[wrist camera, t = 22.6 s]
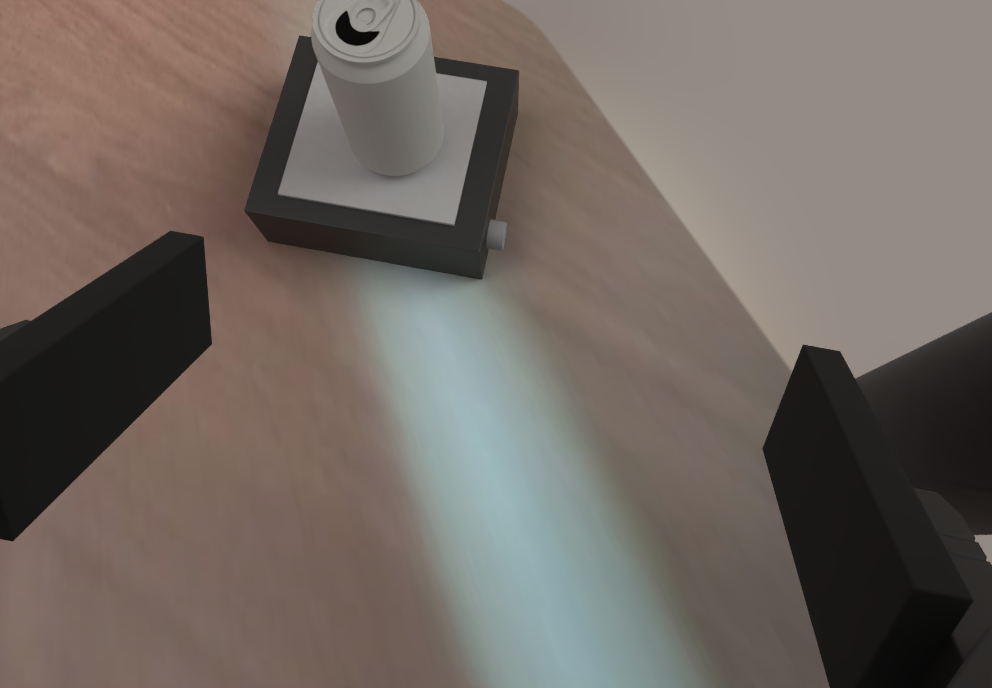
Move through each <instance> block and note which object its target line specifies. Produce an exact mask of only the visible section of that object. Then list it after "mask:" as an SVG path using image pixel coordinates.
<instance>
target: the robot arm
mask: <svg viewBox="0 0 992 688" xmlns="http://www.w3.org/2000/svg"><path fill="white" fill-rule="evenodd" d="M211 344H212V339H211V326H210V313H209V300H208V288H207V275H206V262H205V249H204V237H202V236H196V235H191V234H185V233H180V232H174V231H170V232H168V233H166V234H165V235H163V236H162V237H160V238H159V239H157V240H156V241H154V242H153V243H151V244H149V245H148V246H146V247H145V248H143V249H142V250H140V251H139V252H137V253H136V254H134V255H132V256H131V257H129V258H128V259H126V260H125V261H123V262H122V263H120V264H119V265H117V266H115V267H114V268H112V269H111V270H109V271H108V272H106V273H105V274H103V275H102V276H100V277H98V278H97V279H95V280H94V281H92V282H91V283H89V284H88V285H86V286H85V287H83V288H81V289H80V290H78V291H77V292H75V293H74V294H72V295H71V296H69V297H68V298H66V299H64V300H63V301H61V302H60V303H58V304H57V305H55V306H54V307H52V308H51V309H49V310H47V311H46V312H44V313H43V314H41V315H40V316H38V317H37V318H35V319H34V320H32V321H29V320H24V321H21V322H18V323H16V324H13V325H10V326H7V327H4V328H1V329H0V539H4V540H8V541H14V540H15V539H16V538H17V537H18V536H19V535H20V534H21V533H22V532H23V531H24V530H25V529H26V528H27V527H28V526H29V525H30V524H31V523H32V522H33V521H34V520H35V519H36V518H37V517H38V516H39V515H40V514H41V513H42V512H43V511H44V510H45V509H46V508H47V507H48V506H49V505H50V504H51V503H52V502H53V501H54V500H55V499H56V498H57V497H58V496H59V495H60V494H61V493H62V492H63V491H64V490H65V489H66V488H67V487H68V486H69V485H70V484H71V483H72V482H73V481H74V480H75V479H76V478H77V477H78V476H79V475H80V474H81V473H82V472H83V471H84V470H85V469H86V468H87V467H88V466H89V465H90V464H91V463H92V462H93V461H94V460H95V459H96V458H97V457H98V456H99V455H100V454H101V453H102V452H103V451H104V450H106V449H107V448H108V447H109V446H110V445H111V444H112V443H113V442H114V441H115V440H116V439H117V438H118V437H119V436H120V435H121V434H122V433H123V432H124V431H125V430H126V429H127V428H128V427H129V426H130V425H131V424H132V423H133V422H134V421H135V420H136V419H137V418H138V417H139V416H140V415H141V414H142V413H143V412H144V411H145V410H146V409H147V408H148V407H149V406H150V405H151V404H152V403H153V402H154V401H155V400H156V399H157V398H158V397H159V396H160V395H161V394H162V393H163V392H164V391H165V390H166V389H167V388H168V387H169V386H170V385H171V384H172V383H173V382H174V381H175V380H176V379H177V378H178V377H179V376H180V375H181V374H182V373H183V372H184V371H185V370H186V369H187V368H188V367H189V366H190V365H191V364H192V363H193V362H194V361H195V360H196V359H197V358H198V357H199V356H200V355H201V354H202V353H203V352H204V351H205V350H206V349H207V348H208V347H209V346H210V345H211ZM763 452H764V456H765V459H766V463H767V466H768V470H769V473H770V477H771V480H772V484H773V487H774V491H775V495H776V498H777V502H778V505H779V509H780V512H781V516H782V519H783V523H784V526H785V530H786V534H787V537H788V541H789V544H790V548H791V551H792V555H793V558H794V562H795V565H796V569H797V573H798V576H799V580H800V583H801V587H802V590H803V594H804V597H805V601H806V604H807V608H808V612H809V615H810V619H811V622H812V626H813V629H814V633H815V636H816V640H817V643H818V647H819V651H820V654H821V658H822V661H823V665H824V668H825V672H826V675H827V679H828V682H829V686H830V688H992V565H991V564H990V562H987V561H986V555H985V554H984V552H983V550H982V548H981V547H980V545H979V543H977V542H975V537H974V535H973V533H972V532H971V530H970V528H969V527H968V525H967V523H966V522H965V520H964V518H963V517H962V515H961V514H960V513H959V512H958V511H957V510H956V509H955V508H954V507H953V506H952V505H951V504H949V503H948V502H947V501H946V500H945V499H944V498H943V497H942V496H941V495H940V494H939V493H938V492H935V491H929V490H924V489H919V488H914V487H913V486H912V484H911V482H910V481H909V479H908V477H907V475H906V473H905V471H904V469H903V468H902V466H901V464H900V462H899V460H898V458H897V456H896V455H895V453H894V451H893V449H892V447H891V445H890V443H889V441H888V440H887V438H886V436H885V434H884V432H883V430H882V428H881V427H880V425H879V423H878V421H877V419H876V417H875V415H874V414H873V412H872V410H871V408H870V406H869V404H868V402H867V401H866V399H865V397H864V395H863V393H862V391H861V389H860V388H859V386H858V384H857V382H856V380H855V378H854V377H853V374H852V373H851V371H850V369H849V367H848V365H847V363H846V361H845V360H844V358H843V356H842V354H841V352H840V351H835V350H830V349H824V348H818V347H813V346H808V345H803V346H802V349H801V351H800V354H799V356H798V359H797V361H796V364H795V366H794V369H793V372H792V374H791V377H790V379H789V382H788V384H787V387H786V390H785V392H784V395H783V397H782V400H781V402H780V405H779V408H778V410H777V413H776V415H775V418H774V420H773V423H772V426H771V428H770V431H769V433H768V436H767V438H766V441H765V444H764V446H763Z"/></svg>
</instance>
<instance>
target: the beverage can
mask: <svg viewBox="0 0 992 688" xmlns="http://www.w3.org/2000/svg"><path fill="white" fill-rule="evenodd" d="M312 22H313V26H312V33H311V40H312V46H313V49H314V52H315V55H316V57H317V60H318V63H319V65H320V68H321V70H322V73H323V76H324V78H325V81H326V84H327V86H328V89H329V92H330V94H331V97H332V99H333V102H334V105H335V107H336V110H337V113H338V115H339V118H340V120H341V123H342V126H343V128H344V131H345V134H346V136H347V139H348V142H349V144H350V147H351V149H352V151H353V154H354V155H355V157H356V158H357V159H358V161H359V162H360V163H361V164H362V165H364V166H365V167H366V168H368V169H370V170H371V171H373V172H376V173H378V174H382V175H387V176H402V175H407V174H411V173H414V172H416V171H418V170H420V169H422V168H424V167H425V166H426V165H428V164H429V163H430V162H431V161H432V160H433V159H434V158H435V156H436V155H437V153H438V152H439V150H440V148H441V145H442V142H443V138H444V125H443V118H442V111H441V104H440V97H439V90H438V83H437V76H436V69H435V62H434V55H433V48H432V40H431V33H430V26H429V21H428V18H427V15H426V13H425V11H424V9H423V7H422V6H421V4H420V3H419V2H418V1H417V0H317V2H316V5H315V7H314V11H313V18H312Z"/></svg>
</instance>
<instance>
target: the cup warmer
mask: <svg viewBox="0 0 992 688" xmlns="http://www.w3.org/2000/svg"><path fill="white" fill-rule="evenodd" d="M434 62H435V69H436V76H437V83H438V90H439V97H440V104H441V111H442V118H443V125H444V138H443V142H442V145H441V148H440V150H439V152H438V153H437V155H436V156H435V158H434V159H433V160H432V161H431V162H430V163H429V164H428V165H426V166H425V167H424V168H422V169H420V170H418V171H416V172H414V173H411V174H407V175H402V176H387V175H382V174H378V173H376V172H373V171H371V170H370V169H368V168H366V167H365V166H364V165H362V164H361V163H360V162H359V161H358V159H357V158H356V157H355V155H354V154H353V151H352V149H351V147H350V144H349V142H348V139H347V136H346V134H345V131H344V128H343V126H342V123H341V120H340V118H339V115H338V113H337V110H336V107H335V105H334V102H333V99H332V97H331V94H330V92H329V89H328V86H327V84H326V81H325V78H324V76H323V73H322V70H321V68H320V65H319V63H318V60H317V57H316V55H315V52H314V49H313V46H312V40H311V37H306V36H299V38H298V42H297V45H296V48H295V51H294V54H293V57H292V61H291V64H290V67H289V70H288V73H287V77H286V80H285V83H284V86H283V89H282V92H281V96H280V99H279V102H278V105H277V108H276V111H275V115H274V118H273V121H272V124H271V127H270V131H269V134H268V137H267V140H266V143H265V146H264V150H263V153H262V156H261V159H260V162H259V166H258V169H257V172H256V175H255V178H254V181H253V185H252V188H251V191H250V194H249V197H248V201H247V204H246V207H245V210H244V211H245V212H246V214H247V215H248V216H249V217H250V219H251V220H252V221H253V223H254V224H255V225H256V226H257V228H258V229H259V230H260V232H261V233H262V234H263V235H264V237H265V238H266V239H267V241H271V242H276V243H282V244H287V245H293V246H298V247H304V248H310V249H315V250H321V251H326V252H332V253H337V254H343V255H349V256H354V257H360V258H365V259H371V260H377V261H382V262H388V263H393V264H399V265H404V266H410V267H416V268H421V269H427V270H432V271H438V272H443V273H449V274H455V275H460V276H466V277H471V278H477V279H482V277H483V273H484V268H485V263H486V259H487V254H488V249H494V250H500V251H502V250H503V248H504V245H505V240H506V234H507V226H508V224H507V222H503V221H498V220H495V216H496V212H497V207H498V202H499V198H500V193H501V188H502V184H503V179H504V174H505V170H506V165H507V160H508V156H509V151H510V146H511V142H512V137H513V132H514V128H515V123H516V118H517V114H518V90H519V71H518V70H513V69H506V68H500V67H494V66H487V65H481V64H475V63H469V62H462V61H456V60H450V59H444V58H437V57H434Z"/></svg>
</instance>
